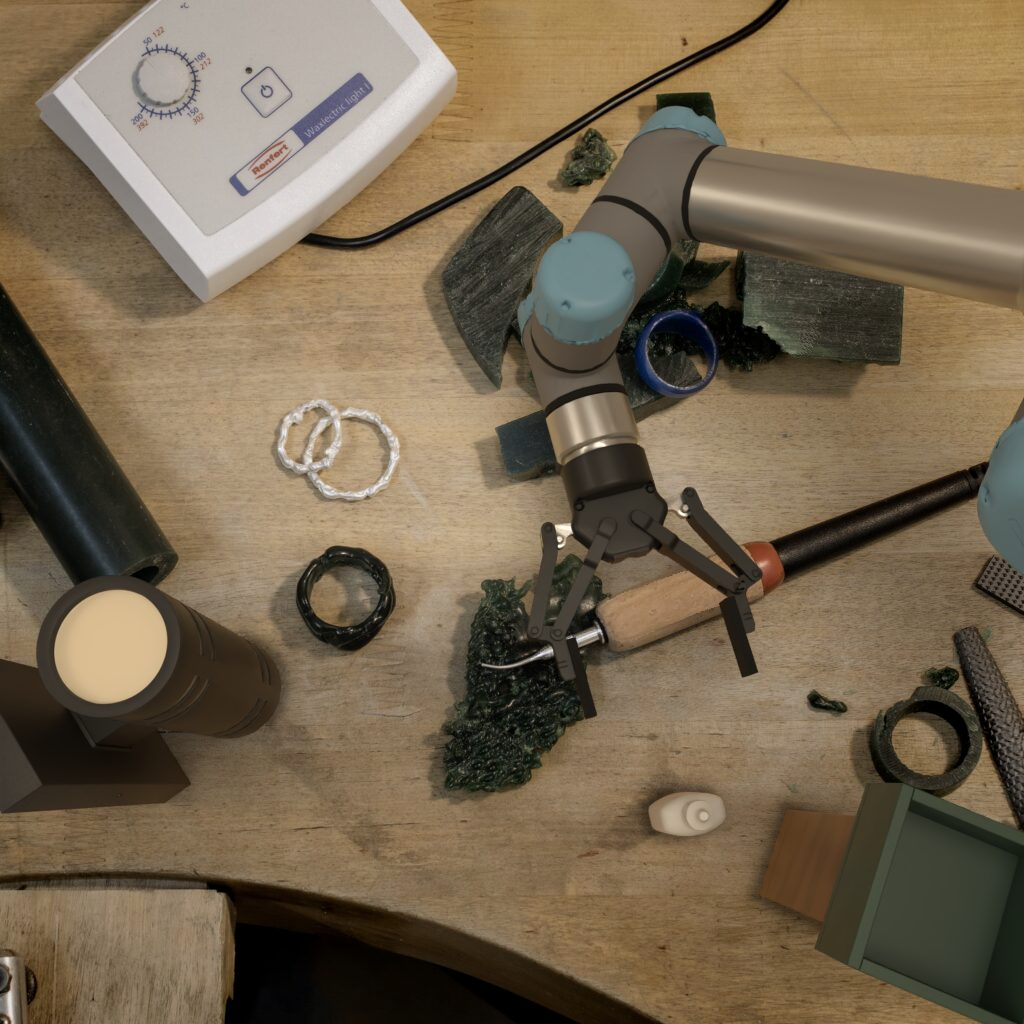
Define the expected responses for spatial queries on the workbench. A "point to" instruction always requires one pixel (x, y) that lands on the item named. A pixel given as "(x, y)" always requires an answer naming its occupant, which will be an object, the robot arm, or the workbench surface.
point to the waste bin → (932, 903)
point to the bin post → (807, 860)
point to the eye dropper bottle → (687, 813)
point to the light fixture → (122, 697)
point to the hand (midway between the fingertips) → (671, 696)
